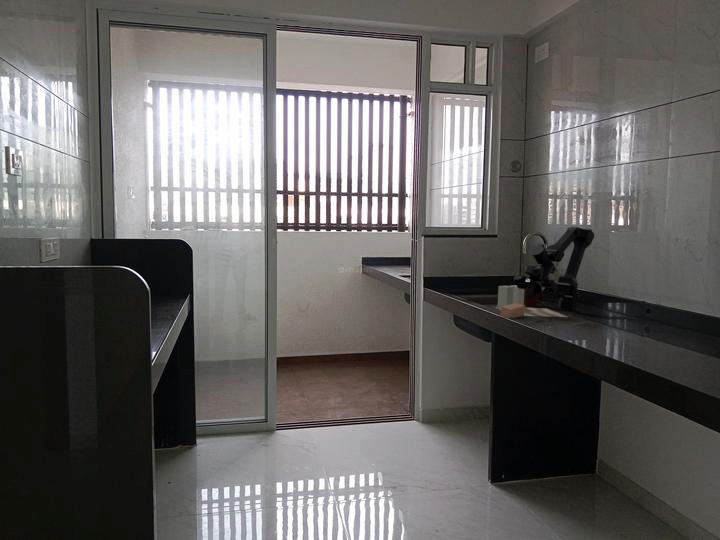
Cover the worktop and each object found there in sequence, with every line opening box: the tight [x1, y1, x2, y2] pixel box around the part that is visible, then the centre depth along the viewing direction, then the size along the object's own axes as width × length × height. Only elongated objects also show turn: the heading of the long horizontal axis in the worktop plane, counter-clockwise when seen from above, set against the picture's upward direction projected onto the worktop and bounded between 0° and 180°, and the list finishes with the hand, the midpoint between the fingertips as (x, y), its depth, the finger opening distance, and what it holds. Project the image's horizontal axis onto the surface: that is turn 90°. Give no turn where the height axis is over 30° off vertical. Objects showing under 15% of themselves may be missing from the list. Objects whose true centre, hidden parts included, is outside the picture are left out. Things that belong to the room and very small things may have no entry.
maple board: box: [494, 306, 568, 318], centre depth 242 cm, size 24×23×1 cm
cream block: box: [510, 284, 524, 305], centre depth 250 cm, size 4×4×10 cm
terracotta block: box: [499, 303, 526, 319], centre depth 227 cm, size 4×4×10 cm
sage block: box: [496, 285, 514, 310], centre depth 247 cm, size 4×4×10 cm
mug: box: [523, 289, 545, 307], centre depth 261 cm, size 10×8×10 cm
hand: (525, 299), depth 232 cm, fingers closed
